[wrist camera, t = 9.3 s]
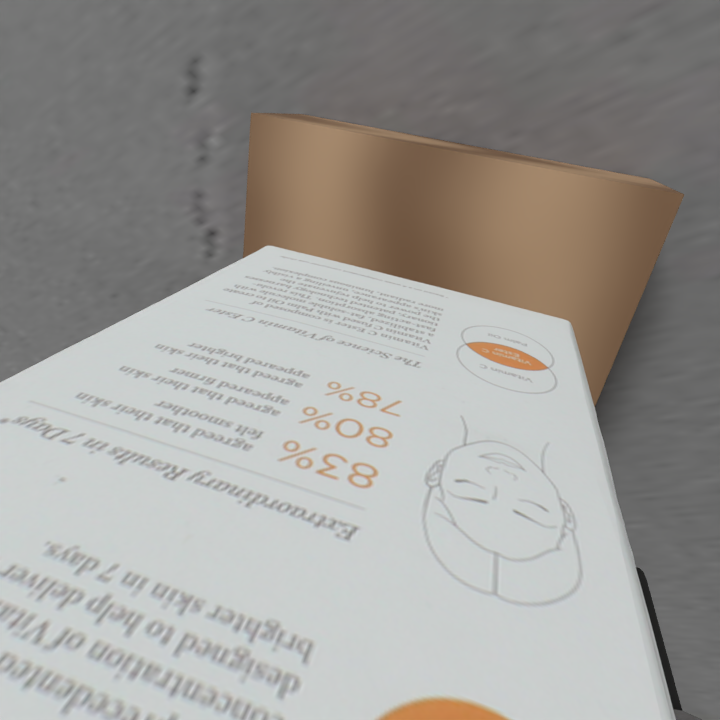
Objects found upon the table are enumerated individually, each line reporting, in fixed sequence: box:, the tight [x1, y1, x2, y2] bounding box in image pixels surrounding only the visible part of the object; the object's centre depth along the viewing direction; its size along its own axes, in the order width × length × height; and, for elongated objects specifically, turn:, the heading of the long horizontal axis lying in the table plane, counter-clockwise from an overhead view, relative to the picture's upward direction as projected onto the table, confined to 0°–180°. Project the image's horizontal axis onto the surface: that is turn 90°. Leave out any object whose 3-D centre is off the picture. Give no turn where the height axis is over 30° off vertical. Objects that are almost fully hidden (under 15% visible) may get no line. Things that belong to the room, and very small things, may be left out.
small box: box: [0, 246, 676, 720], centre depth 9 cm, size 8×6×13 cm
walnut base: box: [243, 113, 684, 407], centre depth 19 cm, size 12×12×4 cm
